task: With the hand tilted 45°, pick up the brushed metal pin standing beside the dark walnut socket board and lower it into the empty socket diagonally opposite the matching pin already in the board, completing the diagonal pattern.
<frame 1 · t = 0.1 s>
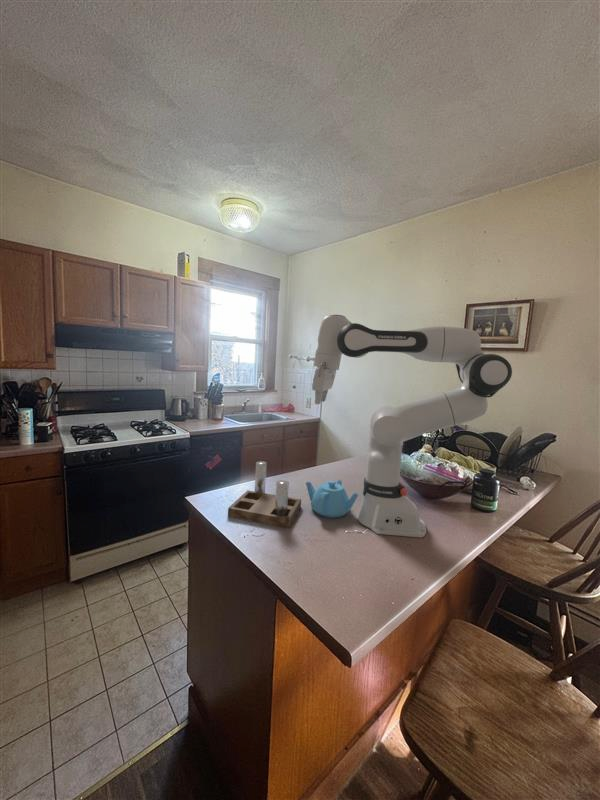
hand: (320, 402, 111), 39 cm above the worktop, tool pointing down, fingers open, 8 cm apart
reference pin: (280, 520, 106), resting in socket board
teapot: (330, 510, 116), on the worktop
socket board: (266, 511, 112), on the worktop
pin: (259, 495, 125), on the worktop
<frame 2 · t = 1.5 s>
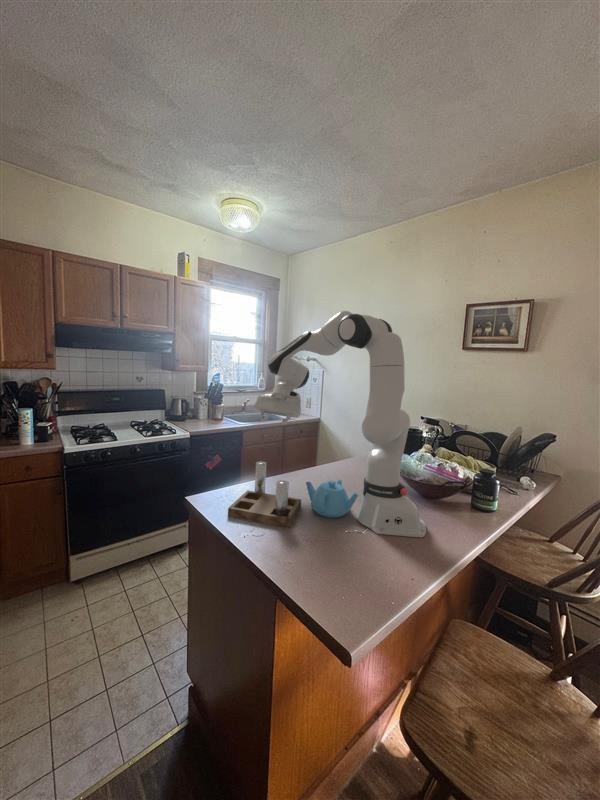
hand: (272, 422, 133), 27 cm above the worktop, tool tilted 45°, fingers open, 8 cm apart
nothing on the worktop moved.
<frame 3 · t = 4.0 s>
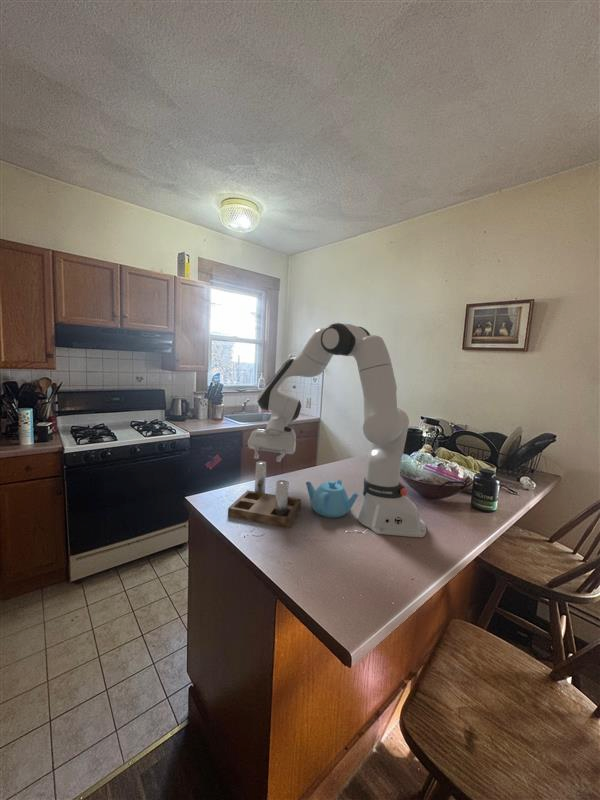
hand: (266, 459, 129), 13 cm above the worktop, tool tilted 45°, fingers open, 8 cm apart
nothing on the worktop moved.
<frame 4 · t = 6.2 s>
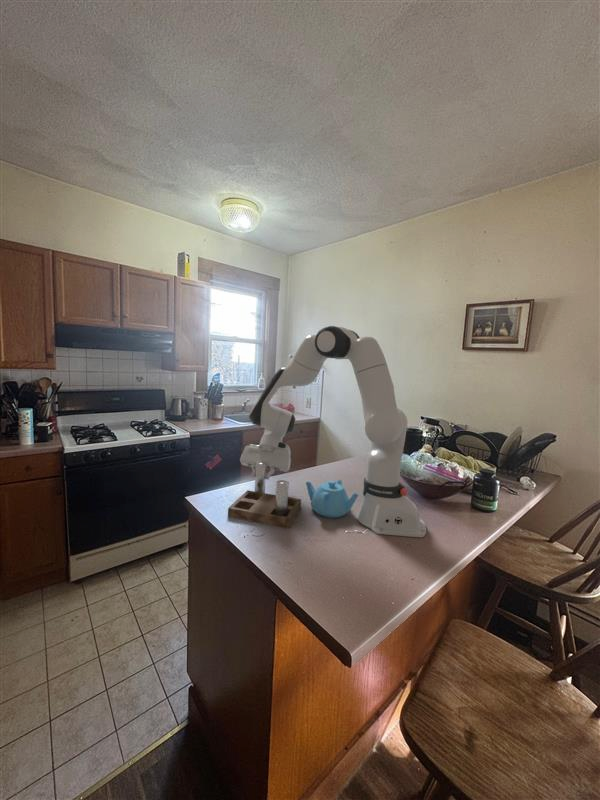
hand: (260, 477, 123), 7 cm above the worktop, tool tilted 45°, fingers closed on pin, 4 cm apart
pin: (259, 495, 125), on the worktop, touching gripper
everything else where it was.
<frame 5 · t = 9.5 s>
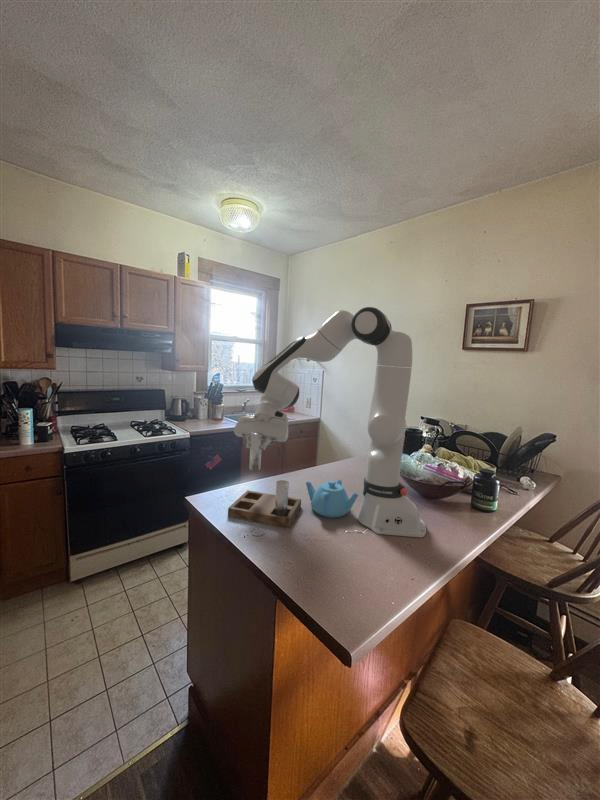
hand: (255, 448, 114), 21 cm above the worktop, tool tilted 45°, fingers closed on pin, 4 cm apart
pin: (254, 468, 115), point 13 cm above the worktop, touching gripper
everything else where it was.
when the fingers open (8 cm above the worktop, at t = 12.7 s): pin stays where it is, resting in socket board.
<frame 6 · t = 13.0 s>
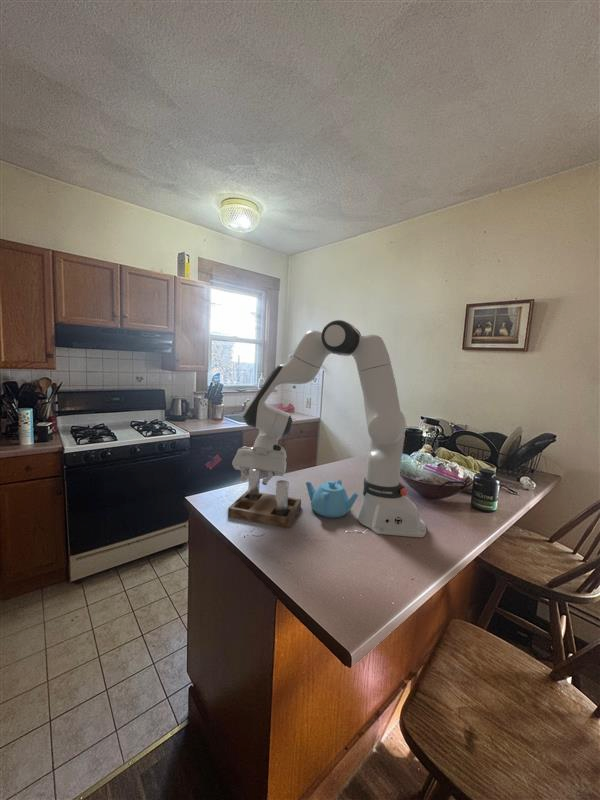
hand: (253, 482, 115), 8 cm above the worktop, tool tilted 45°, fingers open, 7 cm apart
pin: (253, 504, 117), resting in socket board
everything else where it was.
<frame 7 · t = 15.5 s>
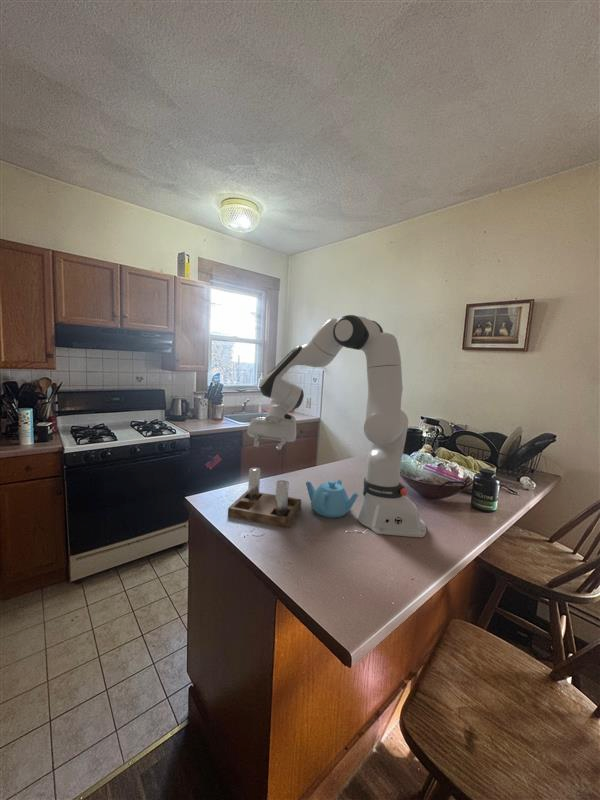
hand: (266, 447, 127), 18 cm above the worktop, tool tilted 45°, fingers open, 8 cm apart
nothing on the worktop moved.
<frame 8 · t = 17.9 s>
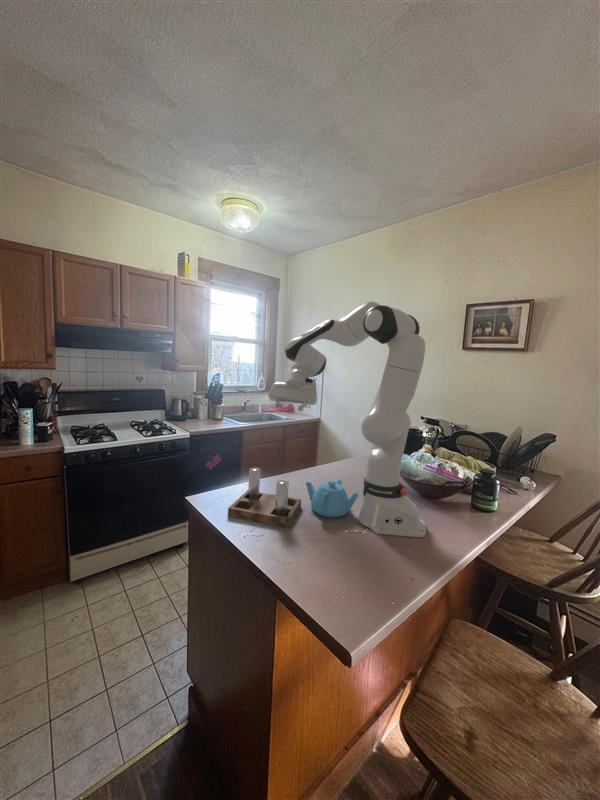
hand: (288, 409, 128), 33 cm above the worktop, tool tilted 45°, fingers open, 8 cm apart
nothing on the worktop moved.
at the end: pin 0.1 cm from the target spot on the socket board, point 0.0 cm above the socket board's base; pin tilted 0°; the gripper is holding nothing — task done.
